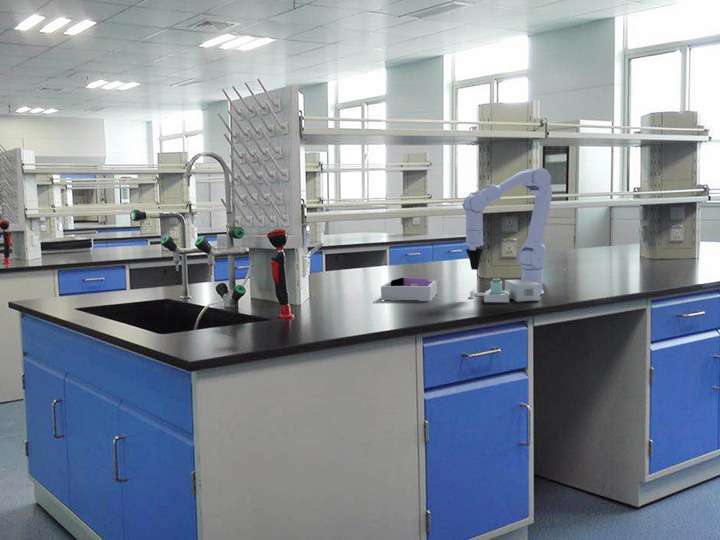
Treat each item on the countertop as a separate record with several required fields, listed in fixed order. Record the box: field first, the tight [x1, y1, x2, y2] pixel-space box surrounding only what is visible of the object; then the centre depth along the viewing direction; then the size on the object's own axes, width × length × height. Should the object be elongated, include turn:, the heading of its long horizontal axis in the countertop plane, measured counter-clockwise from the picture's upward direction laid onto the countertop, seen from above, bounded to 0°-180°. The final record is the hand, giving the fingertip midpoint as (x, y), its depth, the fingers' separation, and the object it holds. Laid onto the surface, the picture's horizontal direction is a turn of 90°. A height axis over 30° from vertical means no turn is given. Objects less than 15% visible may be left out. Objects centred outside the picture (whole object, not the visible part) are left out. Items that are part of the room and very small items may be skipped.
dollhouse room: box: [390, 277, 430, 286], centre depth 268 cm, size 12×12×7 cm
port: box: [483, 290, 511, 304], centre depth 255 cm, size 10×8×3 cm
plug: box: [490, 278, 503, 294], centre depth 255 cm, size 4×4×7 cm
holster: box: [469, 288, 491, 299], centre depth 265 cm, size 6×7×2 cm
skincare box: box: [504, 278, 541, 303], centre depth 259 cm, size 8×6×15 cm
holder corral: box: [380, 280, 438, 302], centre depth 269 cm, size 17×17×5 cm
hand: (474, 269), depth 263 cm, fingers closed
